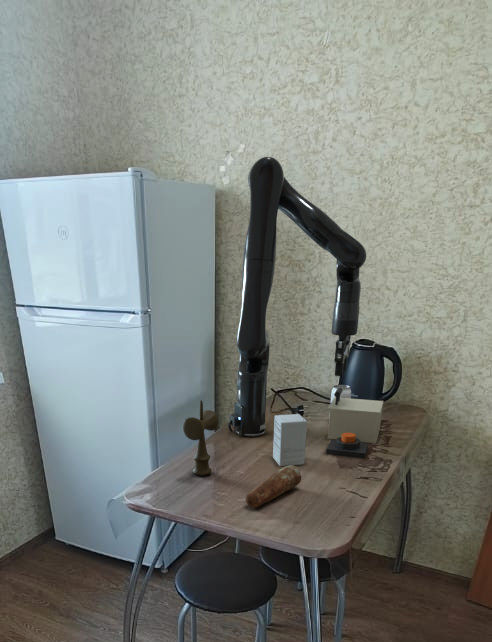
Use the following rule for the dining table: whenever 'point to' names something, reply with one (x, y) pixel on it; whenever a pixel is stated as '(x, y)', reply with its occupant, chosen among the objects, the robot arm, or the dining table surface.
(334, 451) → the button block
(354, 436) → the release button
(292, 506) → the dining table surface
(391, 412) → the dining table surface
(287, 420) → the white packaging box
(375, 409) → the box lid
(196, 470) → the kendama
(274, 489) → the bread
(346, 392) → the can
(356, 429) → the hinged lid box
